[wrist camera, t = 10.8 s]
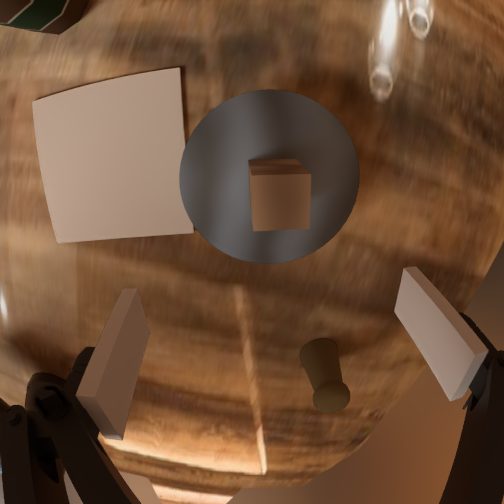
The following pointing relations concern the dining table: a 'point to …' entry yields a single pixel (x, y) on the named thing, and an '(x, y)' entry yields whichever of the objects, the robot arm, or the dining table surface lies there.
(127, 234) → the mat
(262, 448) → the dining table surface
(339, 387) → the cork
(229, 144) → the lid
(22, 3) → the beer bottle
